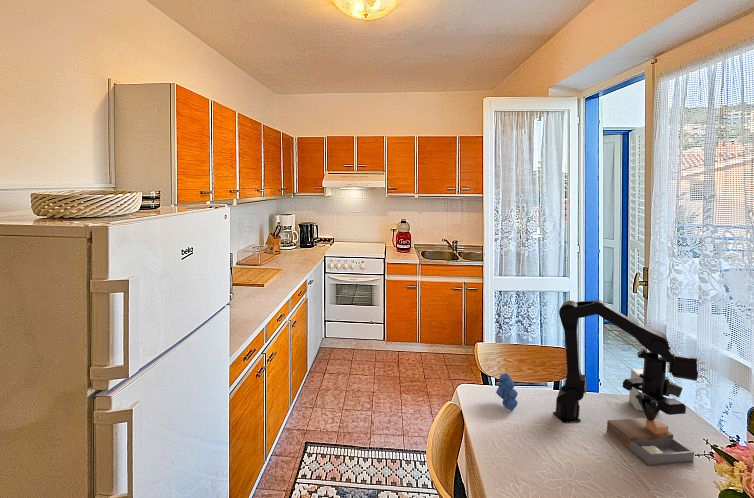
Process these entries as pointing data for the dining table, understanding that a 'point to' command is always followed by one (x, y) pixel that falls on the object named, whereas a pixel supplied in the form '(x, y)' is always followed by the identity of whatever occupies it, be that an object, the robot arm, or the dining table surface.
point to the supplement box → (633, 391)
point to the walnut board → (632, 431)
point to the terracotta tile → (656, 426)
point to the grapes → (507, 391)
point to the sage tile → (651, 449)
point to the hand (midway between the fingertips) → (650, 421)
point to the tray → (669, 447)
